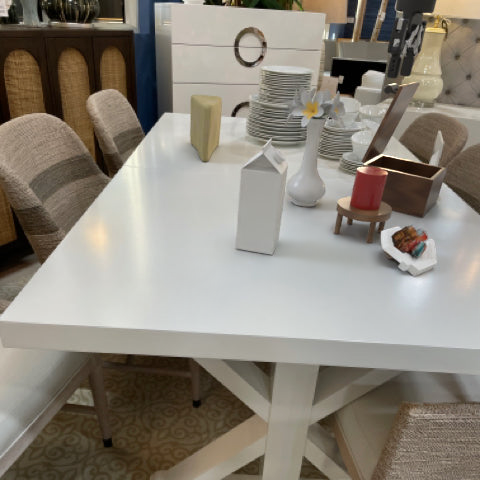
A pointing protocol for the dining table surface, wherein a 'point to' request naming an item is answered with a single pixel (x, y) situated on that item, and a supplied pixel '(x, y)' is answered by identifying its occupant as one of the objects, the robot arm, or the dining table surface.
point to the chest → (409, 184)
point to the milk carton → (261, 201)
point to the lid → (391, 118)
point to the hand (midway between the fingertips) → (398, 76)
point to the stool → (362, 216)
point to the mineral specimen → (409, 249)
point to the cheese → (205, 124)
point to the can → (368, 188)
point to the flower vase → (311, 142)
